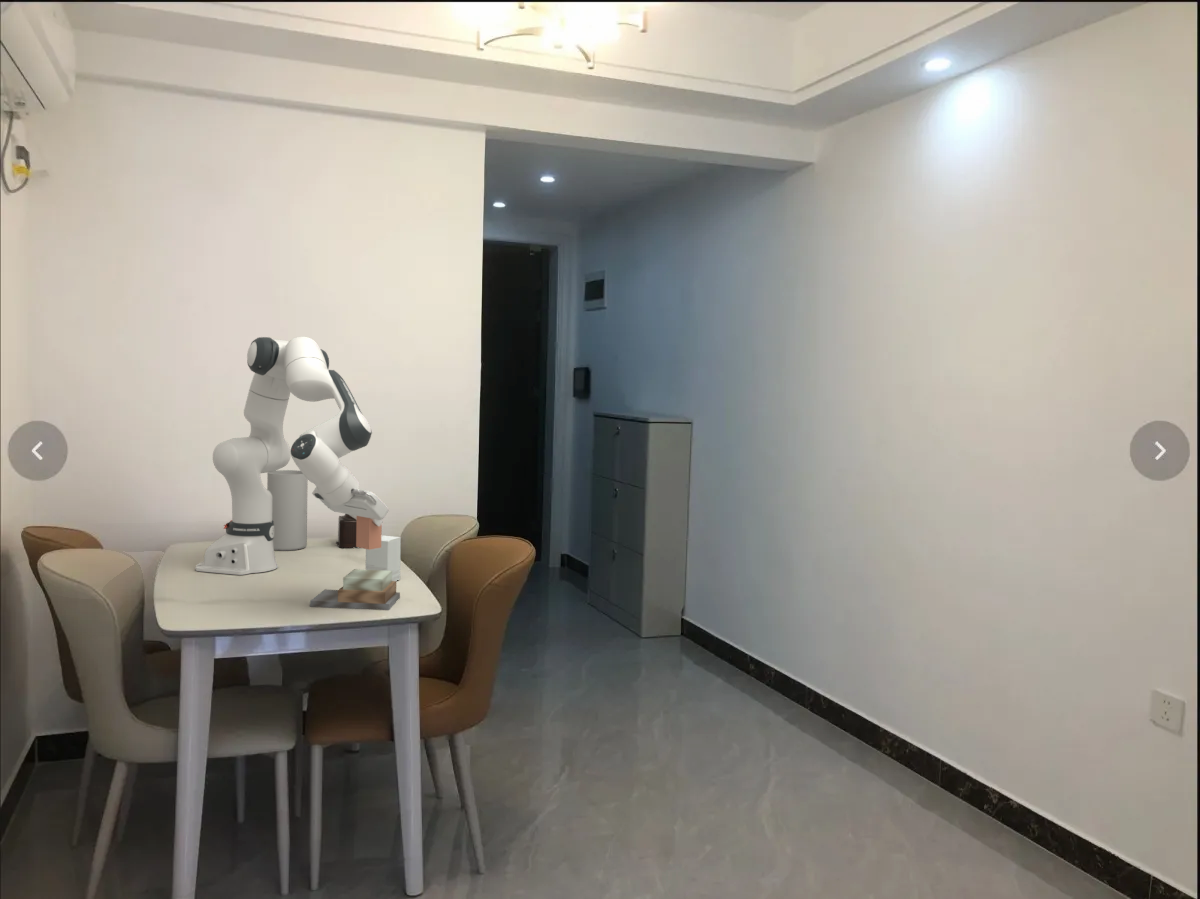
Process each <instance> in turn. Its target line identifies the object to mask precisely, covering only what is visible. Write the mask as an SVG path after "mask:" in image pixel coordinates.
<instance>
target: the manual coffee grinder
mask: <svg viewBox="0 0 1200 899" xmlns="http://www.w3.org/2000/svg"><path fill="white" fill-rule="evenodd" d="M337 528H338V531H337V533H338V534H337V541H336V545H337V546H339V547H338V548H340V549H354V548H353V547H356V528H357V520H356V519H355V518H353V517H351V516H350V515H348V514H345V513H344V515H339V516H338V526H337Z"/></svg>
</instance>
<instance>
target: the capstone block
mask: <svg viewBox="0 0 1200 899" xmlns="http://www.w3.org/2000/svg"><path fill="white" fill-rule="evenodd" d="M372 521H373V520H372V519H370V518H366V517H361V516H357V528H356V547H359V548H358V549H363V550H366V549H368V550H370V549H376V548H381V535H383V534H382V530H383V529H382V527H383V526H382V524H383V523H382V524H381V525H380V526H375V525H374V524H373V523H372Z"/></svg>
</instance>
